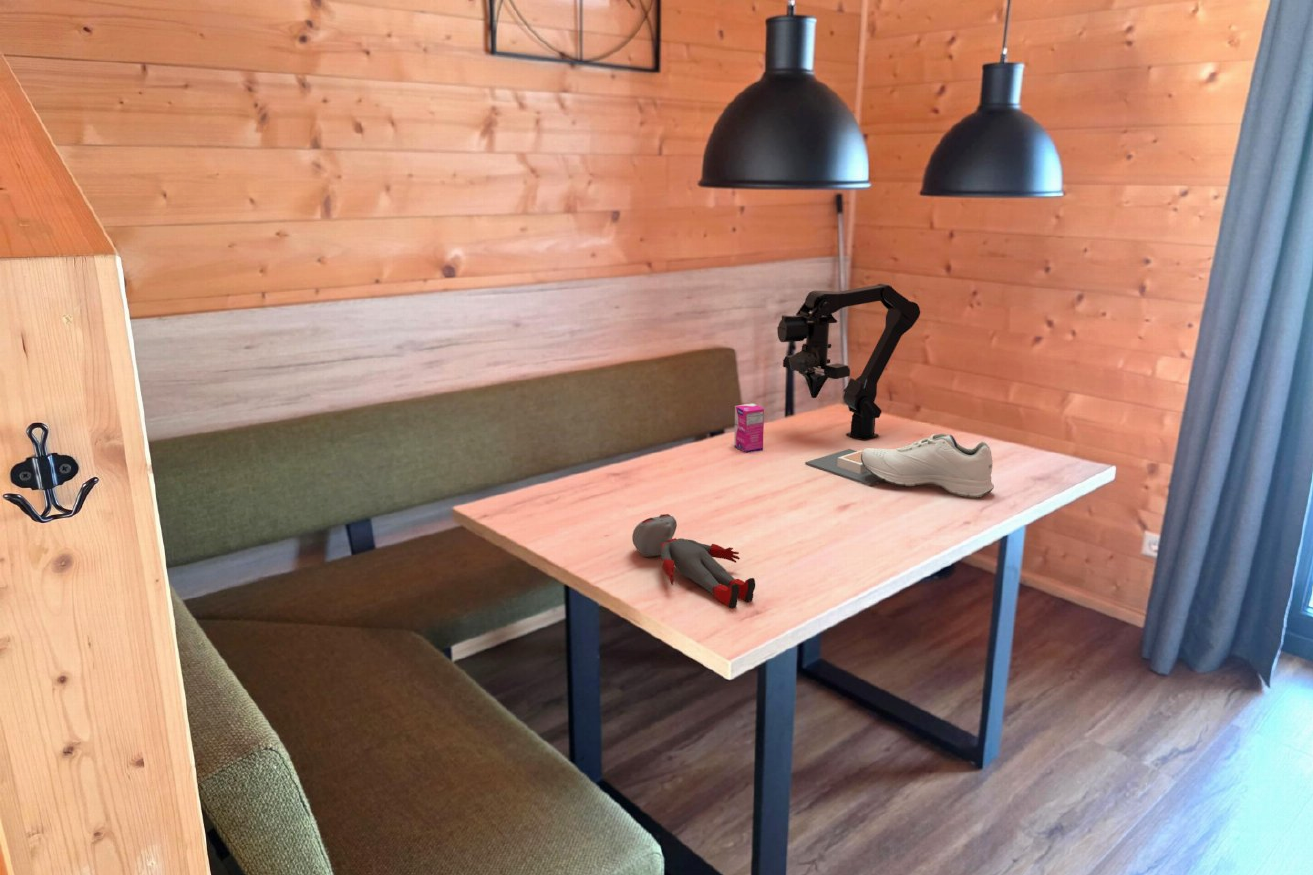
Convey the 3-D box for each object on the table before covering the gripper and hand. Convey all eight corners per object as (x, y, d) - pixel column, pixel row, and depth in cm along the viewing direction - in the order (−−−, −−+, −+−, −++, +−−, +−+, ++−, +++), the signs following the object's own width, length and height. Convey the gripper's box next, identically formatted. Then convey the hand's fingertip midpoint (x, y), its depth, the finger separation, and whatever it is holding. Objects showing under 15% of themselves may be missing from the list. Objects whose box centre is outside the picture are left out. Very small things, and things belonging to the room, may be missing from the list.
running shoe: (861, 468, 223) (866, 417, 219) (992, 484, 215) (999, 431, 210) (856, 484, 213) (861, 430, 209) (992, 502, 204) (1001, 446, 200)
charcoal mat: (849, 450, 239) (849, 448, 239) (913, 470, 224) (913, 468, 224) (805, 464, 229) (805, 462, 228) (869, 486, 214) (870, 483, 214)
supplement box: (733, 447, 242) (734, 405, 239) (752, 444, 244) (754, 402, 241) (744, 453, 237) (745, 410, 234) (764, 450, 239) (765, 408, 236)
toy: (711, 595, 152) (610, 511, 173) (704, 641, 156) (606, 553, 177) (780, 570, 161) (676, 493, 182) (771, 614, 165) (670, 534, 186)
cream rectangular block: (861, 449, 230) (884, 456, 225) (860, 459, 231) (883, 466, 226) (837, 456, 224) (860, 464, 219) (837, 466, 225) (860, 474, 220)
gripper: (769, 338, 241) (767, 395, 246) (824, 350, 227) (820, 410, 232) (798, 333, 248) (795, 389, 252) (853, 344, 234) (849, 403, 239)
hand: (814, 397), depth 244 cm, fingers closed
